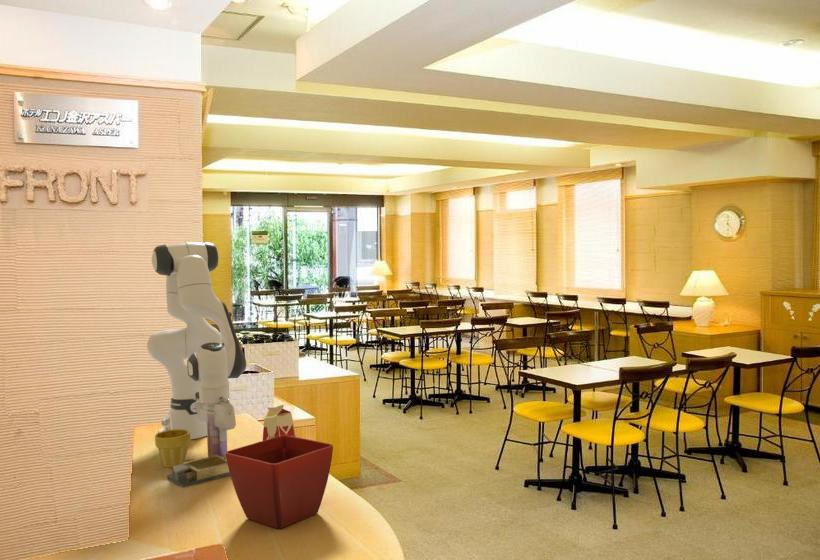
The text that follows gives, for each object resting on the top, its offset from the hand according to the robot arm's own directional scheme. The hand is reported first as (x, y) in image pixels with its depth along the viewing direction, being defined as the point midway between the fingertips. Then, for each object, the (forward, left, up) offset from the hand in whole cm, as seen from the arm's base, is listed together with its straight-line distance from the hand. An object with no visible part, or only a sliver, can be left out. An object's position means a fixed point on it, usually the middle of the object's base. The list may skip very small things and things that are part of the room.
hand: (217, 438), depth 216 cm
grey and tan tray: (+11, -8, -7) cm, 15 cm away
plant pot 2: (+56, -9, -7) cm, 57 cm away
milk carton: (+24, +9, -7) cm, 26 cm away
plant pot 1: (-7, -11, -7) cm, 15 cm away
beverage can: (0, 0, -6) cm, 6 cm away
